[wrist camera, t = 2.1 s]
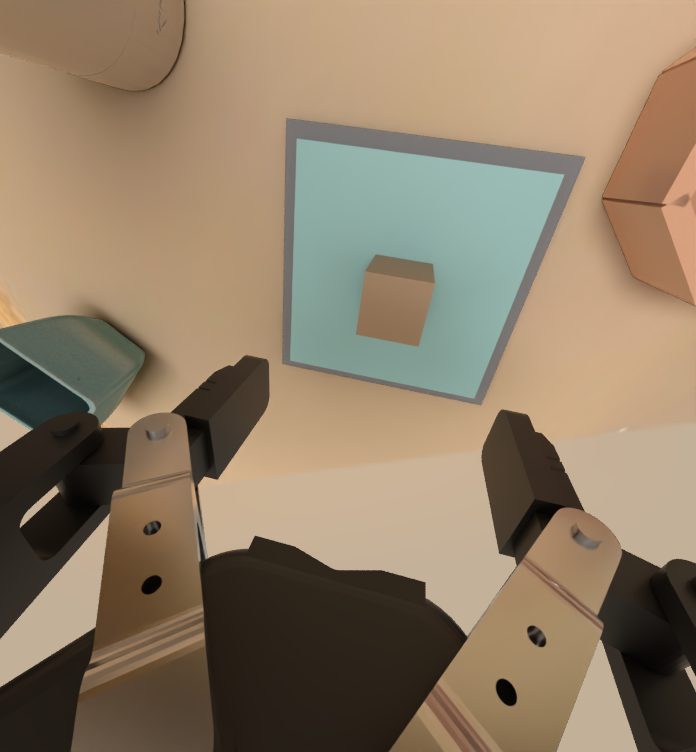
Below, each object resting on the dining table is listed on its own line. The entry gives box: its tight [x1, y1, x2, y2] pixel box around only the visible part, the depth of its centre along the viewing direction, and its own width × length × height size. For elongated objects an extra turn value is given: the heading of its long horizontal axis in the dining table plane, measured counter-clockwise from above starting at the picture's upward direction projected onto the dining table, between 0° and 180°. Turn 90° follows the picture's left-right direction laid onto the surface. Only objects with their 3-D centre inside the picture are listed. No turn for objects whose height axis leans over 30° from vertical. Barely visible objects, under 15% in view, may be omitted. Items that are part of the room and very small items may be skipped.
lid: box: [290, 139, 564, 399], centre depth 22 cm, size 16×16×6 cm
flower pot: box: [0, 315, 145, 430], centre depth 30 cm, size 9×9×9 cm
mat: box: [282, 118, 586, 405], centre depth 25 cm, size 18×18×1 cm
